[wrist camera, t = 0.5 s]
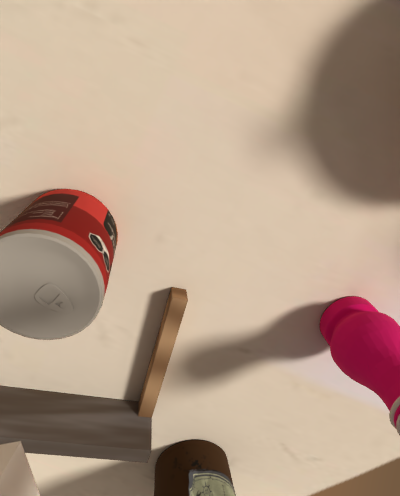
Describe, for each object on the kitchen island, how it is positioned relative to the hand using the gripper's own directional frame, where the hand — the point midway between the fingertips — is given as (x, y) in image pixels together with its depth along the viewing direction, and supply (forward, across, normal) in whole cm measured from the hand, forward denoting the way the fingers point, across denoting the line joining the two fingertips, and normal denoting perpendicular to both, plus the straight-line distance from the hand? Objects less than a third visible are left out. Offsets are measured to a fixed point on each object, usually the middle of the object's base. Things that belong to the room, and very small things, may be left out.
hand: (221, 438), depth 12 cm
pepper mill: (+26, +15, -11) cm, 32 cm away
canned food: (+23, -10, +4) cm, 25 cm away
